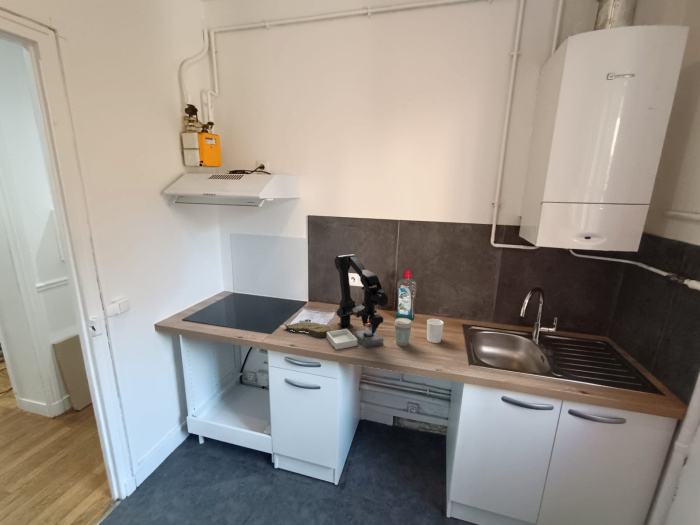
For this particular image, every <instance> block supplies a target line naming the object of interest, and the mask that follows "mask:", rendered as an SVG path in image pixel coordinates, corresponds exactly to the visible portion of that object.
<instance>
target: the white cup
mask: <svg viewBox="0 0 700 525" xmlns="http://www.w3.org/2000/svg"><path fill="white" fill-rule="evenodd" d="M443 331H444V321H443V320H441V319H438V318H429V319H427V320H426V340H427V341H428V342H429V343H433V344H439V343H441V341H442V336H443Z"/></svg>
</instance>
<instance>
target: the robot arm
mask: <svg viewBox="0 0 700 525" xmlns="http://www.w3.org/2000/svg"><path fill="white" fill-rule="evenodd" d="M334 264H335V265H334V266H335V268H336V270H337V272H338V273H339V274H338V275H339V284H340V293H341V299H340V301H339V308H338V309H337V310H336V313H335V314H336V316H337V317H339V320H340V322H338V323H337V325H338V326H339V327H340V329H348V328H353V324H352V323H351V316H355V318H361V322H362V326H363V327H366V326H365V322H368V321H369V323H370V324H371V331H372V334H374V333H375V332H377V329H378V328H379V326H380V324H382V323H384V317H383V316H381V314H379V313H378V312H377V310H376V306H377V305H378V306H379V307H385V306H386V305H387V304H388V301H389V298H388V297H389V296H388V295H387V294H386V292H385V291H383V287H382V284H381V282H380V280H379V277H378V275H376V274H375V273H374V272H373V271H370V270H368V268H367V267H365V266H364V265H363V263H362V262H361V261H360V260H359V258H358V257H357V255H356V254H354V253H353V254H344V255H337V256H336V257H335V258H334ZM350 268H352V269H353V270H354V271H355V273H356V274H357V275H358V276H359V281H360V283H361V284H362V287H361V290H362V291H363V300H362V301H361V304H359V305H357V306H356V301H355V300H354V299H353V298H352V295H351V285H350V275H349V271H350ZM377 313H378V314H377Z"/></svg>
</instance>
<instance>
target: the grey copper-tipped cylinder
mask: <svg viewBox="0 0 700 525" xmlns="http://www.w3.org/2000/svg"><path fill="white" fill-rule="evenodd" d="M364 327H365V329H364V330H365V337H367V338H368V337H372V331H371V324H370V323H369V320H368V321H367V322H365V326H364Z"/></svg>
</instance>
